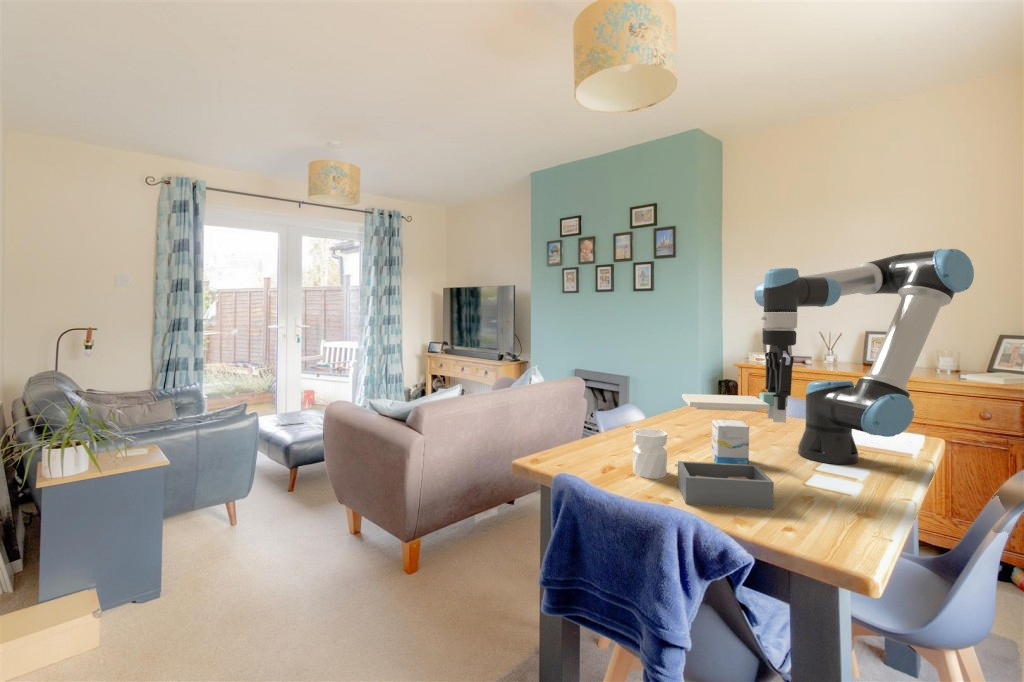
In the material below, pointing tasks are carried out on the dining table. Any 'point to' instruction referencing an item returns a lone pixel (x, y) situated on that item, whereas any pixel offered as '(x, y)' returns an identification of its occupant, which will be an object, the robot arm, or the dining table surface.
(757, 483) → the tub
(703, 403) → the cream flat block
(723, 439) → the ink box
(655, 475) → the white vase
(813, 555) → the dining table surface
